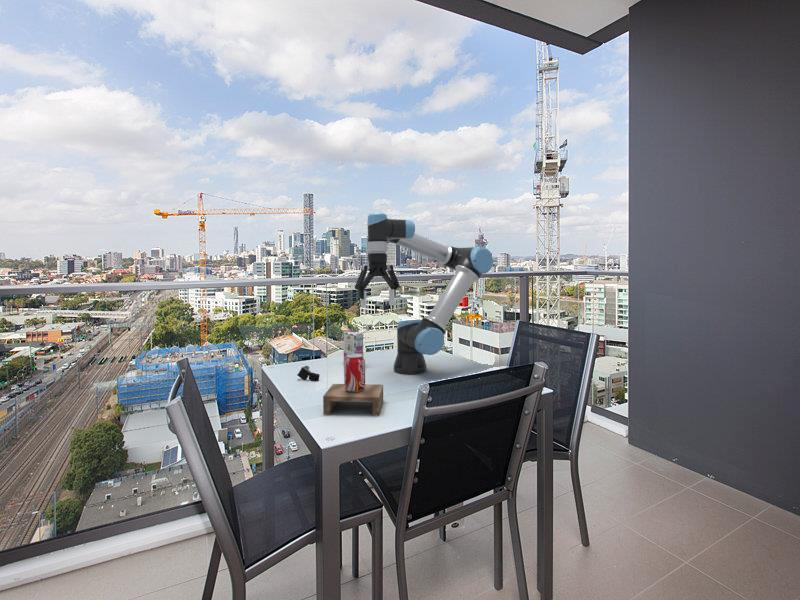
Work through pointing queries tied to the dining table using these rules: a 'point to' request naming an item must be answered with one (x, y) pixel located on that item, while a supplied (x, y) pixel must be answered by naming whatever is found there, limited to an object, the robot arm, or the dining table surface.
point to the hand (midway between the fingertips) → (378, 306)
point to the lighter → (308, 374)
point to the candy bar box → (352, 343)
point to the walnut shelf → (353, 397)
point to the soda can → (354, 372)
